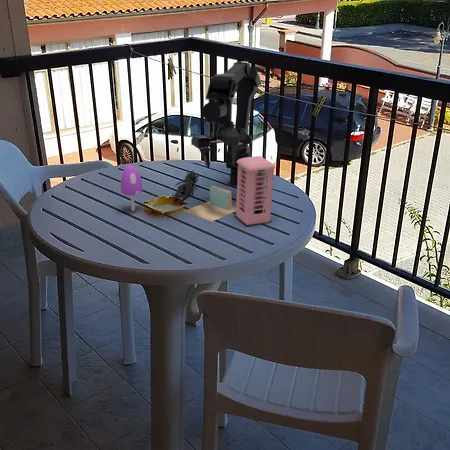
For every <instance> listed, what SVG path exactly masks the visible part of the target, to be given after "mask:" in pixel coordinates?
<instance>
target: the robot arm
mask: <svg viewBox="0 0 450 450" xmlns="http://www.w3.org/2000/svg"><path fill="white" fill-rule="evenodd" d="M260 83H261V77H260V74H259V72H258V71H257V70H256V69H255V68H254V67H252V66H251V64H250V63H248V62H247V61H246V62H245V61H236V62H233V65H232V66H231V67H230V68H229V69H228V70H226V71H225V72H224V73H217V74H214V75H213V76H212V77H211V79H210V80H209V83H208V88H207V93H206V96H205V99H206V100H208V102H207V103H205V104H204V105H203V107H202V110H201V114H202V117H203V119H205V120H206V121H207V122H209V123H211V124H212V132H210V136H211V137H209V136H206V135H203V134H202V135H193V136H192V137H191V138H190V139H191V141H190V142H191V146H194V148H197V149H198V150H199V152H200V154H201V156H202V158H203V161H204V163H205V167H206V168H207V169H210V167H211V166H210V165H211V161H210V160H211V157H210V152H211V150H212V148H211V147H210V146H211V145H212V144H224V146H226V147H227V149H226V152H225V154H224V155H225V157H224V160H225V166H226V167H225V168H226V169H230V172H229V181H227V182H226V183H227V184H228V185H231V186H234V187H237V179H238V163H236V162H237V160H239V159H241V158H247V157H252V155H251V148H250V145H251V144H252V142H253V141H252V140H253V139H252V135H250V134H248V131H249V124H250V115H251V108H252V100H253V98H254V97H255V96H256V95H257V94H258V89H259V87H260V85H261V84H260ZM236 94H237V97H238V98H237V100H238V101H237V106H236V107H237V109H236V114H235V123H234V121H233V120H232V119H233V118H232V116H233V114H232V112H233V100H234V98H235V96H236ZM243 174H244V170H243ZM245 174H246V171H245ZM243 178H244V175H243ZM245 178H246V176H245ZM245 180H246V179H245ZM243 183H244V180H243ZM243 187H244V185H243Z"/></svg>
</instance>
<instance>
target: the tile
mask: <svg viewBox="0 0 450 450" xmlns="http://www.w3.org/2000/svg"><path fill="white" fill-rule="evenodd" d="M232 197H233V196H232V191H231V190H228V189H225V188H222V187H219V186H216V185H210V186H209V201H210V204H211V205H214V206H217V207H220V208H222V209H225V210H231V208H232V205H233V204H232V202H233V199H232Z"/></svg>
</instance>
